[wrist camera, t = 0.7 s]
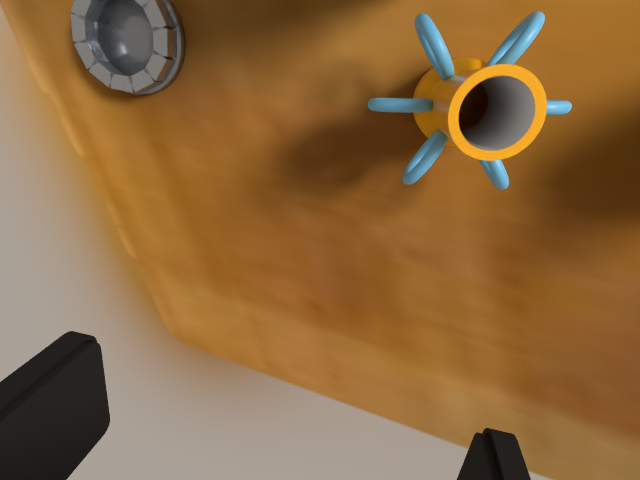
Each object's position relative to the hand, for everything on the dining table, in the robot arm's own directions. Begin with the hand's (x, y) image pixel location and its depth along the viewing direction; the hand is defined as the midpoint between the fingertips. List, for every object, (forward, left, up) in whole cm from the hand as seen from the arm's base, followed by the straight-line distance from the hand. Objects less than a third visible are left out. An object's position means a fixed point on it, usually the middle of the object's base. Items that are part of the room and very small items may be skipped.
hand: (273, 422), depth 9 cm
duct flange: (-8, -21, -27) cm, 35 cm away
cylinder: (-7, +6, -27) cm, 29 cm away
